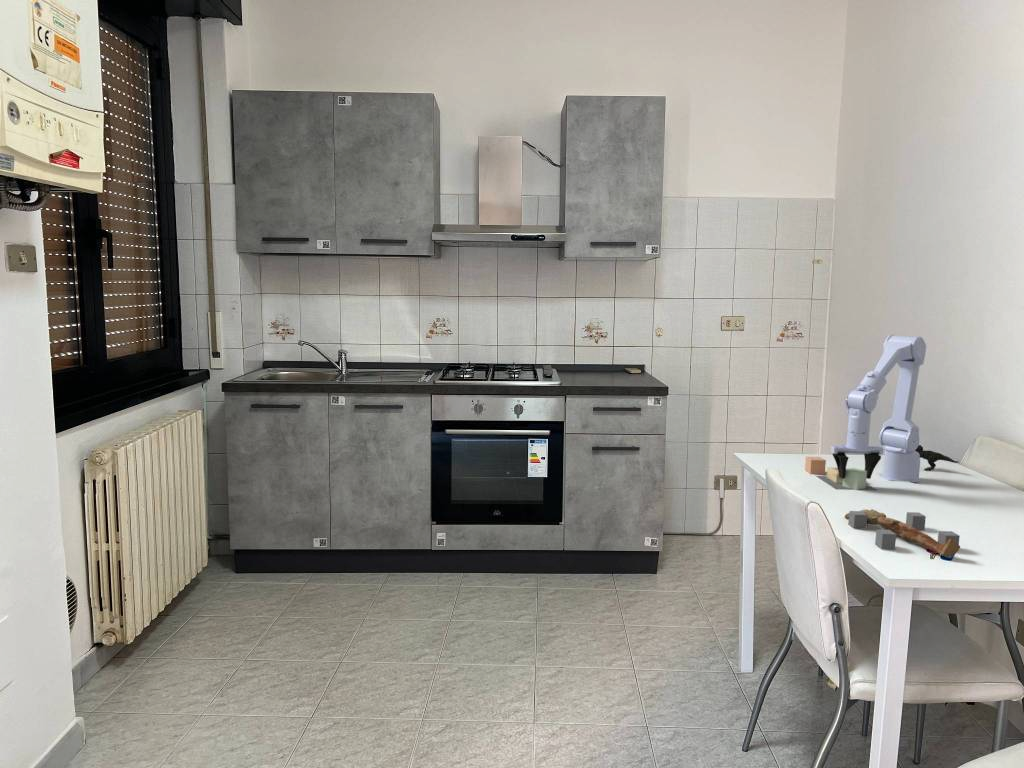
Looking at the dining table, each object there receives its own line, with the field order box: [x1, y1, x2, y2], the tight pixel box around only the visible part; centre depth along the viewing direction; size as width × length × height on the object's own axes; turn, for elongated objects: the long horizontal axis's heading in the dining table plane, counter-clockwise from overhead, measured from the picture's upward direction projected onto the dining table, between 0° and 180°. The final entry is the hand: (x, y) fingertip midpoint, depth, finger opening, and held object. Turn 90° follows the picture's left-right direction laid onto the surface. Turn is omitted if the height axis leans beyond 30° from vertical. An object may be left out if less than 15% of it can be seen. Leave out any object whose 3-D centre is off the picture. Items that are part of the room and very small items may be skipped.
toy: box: [915, 444, 960, 472], centre depth 238 cm, size 5×15×8 cm, turn 39°
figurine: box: [844, 508, 961, 558], centre depth 173 cm, size 8×6×30 cm
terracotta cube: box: [804, 456, 827, 475], centre depth 232 cm, size 4×4×5 cm
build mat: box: [815, 475, 878, 491], centre depth 220 cm, size 12×15×1 cm
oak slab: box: [826, 467, 850, 483], centre depth 223 cm, size 7×7×3 cm
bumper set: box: [847, 510, 960, 550], centre depth 173 cm, size 17×17×4 cm
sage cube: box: [842, 467, 868, 491], centre depth 215 cm, size 4×4×5 cm
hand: (854, 477), depth 215 cm, fingers open, 7 cm apart
